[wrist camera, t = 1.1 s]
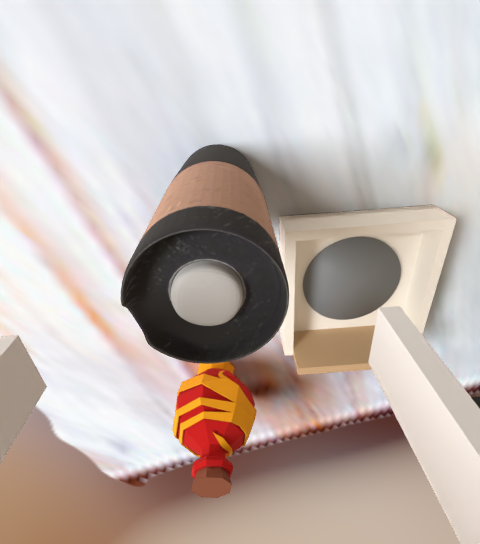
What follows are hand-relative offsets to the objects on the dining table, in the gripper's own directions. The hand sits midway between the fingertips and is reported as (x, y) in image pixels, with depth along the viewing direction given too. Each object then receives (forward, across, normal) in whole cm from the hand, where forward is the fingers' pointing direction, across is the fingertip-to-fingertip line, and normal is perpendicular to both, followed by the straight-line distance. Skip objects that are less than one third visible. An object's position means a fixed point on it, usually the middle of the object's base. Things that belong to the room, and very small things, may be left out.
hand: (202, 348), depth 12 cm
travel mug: (+23, 0, 0) cm, 23 cm away
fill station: (+22, +14, -12) cm, 29 cm away
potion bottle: (+23, -3, -26) cm, 34 cm away
